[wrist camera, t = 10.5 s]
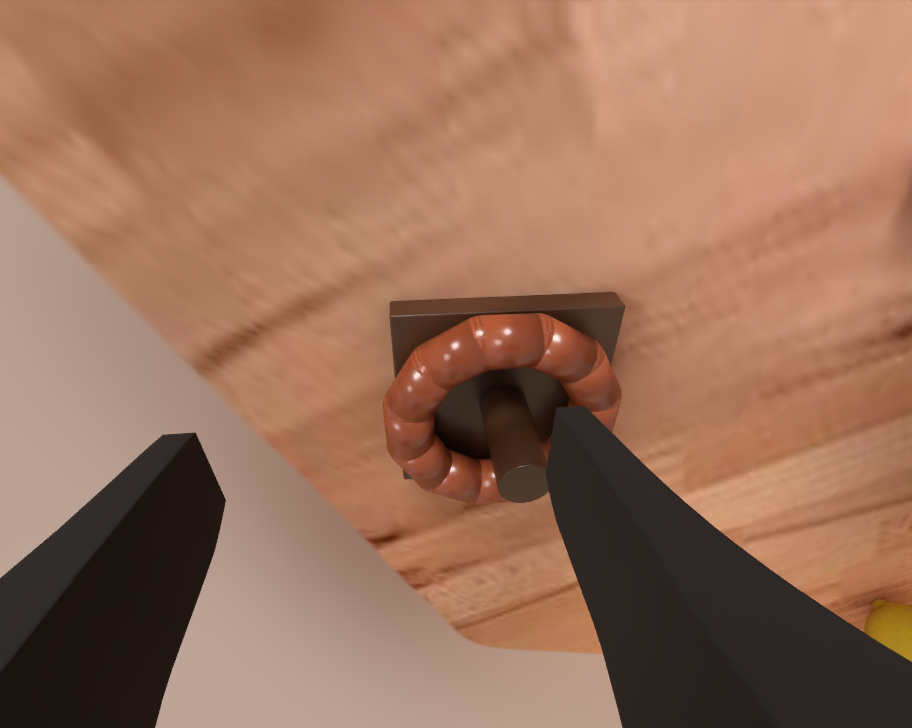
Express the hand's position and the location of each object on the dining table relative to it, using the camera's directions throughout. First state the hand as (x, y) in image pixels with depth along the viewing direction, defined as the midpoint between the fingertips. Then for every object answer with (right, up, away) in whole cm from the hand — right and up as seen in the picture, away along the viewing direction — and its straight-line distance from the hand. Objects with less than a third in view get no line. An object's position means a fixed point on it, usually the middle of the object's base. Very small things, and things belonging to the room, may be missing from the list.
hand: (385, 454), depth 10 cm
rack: (+3, +1, +11) cm, 12 cm away
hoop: (+3, 0, +10) cm, 10 cm away
